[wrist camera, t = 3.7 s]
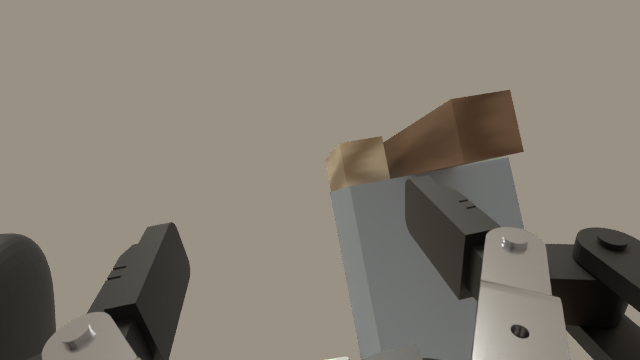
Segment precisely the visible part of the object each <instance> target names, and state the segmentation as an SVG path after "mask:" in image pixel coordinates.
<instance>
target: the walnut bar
mask: <svg viewBox="0 0 640 360" xmlns="http://www.w3.org/2000/svg"><path fill="white" fill-rule="evenodd" d="M383 145H384V150H385V155H386V160H387V165H388V170H389V175H390V179H393V178H398V177H404V176H409V175H415V174H420V173H426V172H431V171H436V170H442V169H447V168H453V167H457V166H462V165H466V164H470V163H475V162H479V161H484V160H488V159H493V158H497V157H502V156H506V155H510V154H515V153H519V152H523V147H522V142H521V137H520V133H519V129H518V124H517V120H516V115H515V110H514V106H513V101H512V97H511V92H510V90H506V91H500V92H494V93H487V94H481V95H475V96H468V97H462V98H456V99H451V100H449V101H448V102H446V103H444V104H443V105H441V106H440V107H438V108H437V109H435V110H434V111H432V112H430V113H429V114H427V115H426V116H424V117H423V118H421V119H419V120H418V121H416V122H415V123H413V124H412V125H410V126H408V127H407V128H405V129H404V130H402V131H401V132H399V133H398V134H396V135H394V136H393V137H391V138H390V139H388V140H387V141H385V142H384V143H383Z"/></svg>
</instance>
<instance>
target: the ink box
mask: <svg viewBox="0 0 640 360" xmlns="http://www.w3.org/2000/svg"><path fill="white" fill-rule="evenodd" d="M326 360H350V359H349V357H341V358H334V359H326Z"/></svg>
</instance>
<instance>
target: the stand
mask: <svg viewBox="0 0 640 360" xmlns="http://www.w3.org/2000/svg"><path fill="white" fill-rule="evenodd" d="M422 176H430V177H431V178H432V179H433V180H435V181H436V182H437V183H438V184H439V185H440V186H441V187H443V186H446V187H449V188H451V189H454V190H456V191H459V192H460V193H461V194H462V195H464V196H465V197H466V198H467V199H468V201H471V202H472V203H473V204H474V205H476V208H477V207H478V208H479V209H481V210H482V211H483V212H484V213H485V214H487V215H488V216H489V217H490V218H491V219H493V220H494V221H495V222H496V223H497V224H499V225H500V226H501V227H512V228H518V229H522V230H524V226H523V222H522V217H521V213H520V208H519V203H518V199H517V194H516V190H515V185H514V181H513V177H512V172H511V167H510V163H509V158H508V157H507V158H502V159H496V160H491V161H485V162H480V163H474V164H469V165H464V166H458V167H453V168H447V169H442V170H436V171H431V172H426V173H420V174H415V175H409V176H404V177H398V178H393V179H387V180H382V181H377V182H371V183H366V184H360V185H355V186H349V187H346V188H343V189H339V190H336V191H332V192H330V195H331V200H332V205H333V211H334V216H335V221H336V226H337V232H338V237H339V243H340V248H341V253H342V259H343V264H344V269H345V275H346V280H347V285H348V290H349V296H350V301H351V307H352V312H353V317H354V322H355V328H356V333H357V339H358V344H359V349H360V355H361V360H362V359H364V358H366V357H368V356H370V355H372V354H374V353H378V352H382V351H386V350H390V349H394V348H399V347H403V346H407V345H411V344H415V345H416V347H417V349H418V351H419V353H420V355H421V357H422V358H432V359H439V360H470V355H471V347H472V339H473V330H474V322H475V314H476V306H477V301H476V300H475V298H474V297H470V298H466V299H462V300H458V298H457V297H456V296H455V294H454V293H453V291H452V290H451V289H450V287H449V286H448V285H447V283H446V282H445V281H444V279H443V278H442V277H441V275H440V274H439V272H438V271H437V270H436V268H435V267H434V266H433V264H432V263H431V262H430V260H429V259H428V258H427V256H426V255H425V253H424V252H423V251H422V249H421V248H420V247H419V245H418V244H417V243H416V241H415V240H414V239H413V237H412V236H411V234H410V233H409V231H408V229H407V226H406V221H405V183H406V180H407V179H411V178H416V177H422Z"/></svg>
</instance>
